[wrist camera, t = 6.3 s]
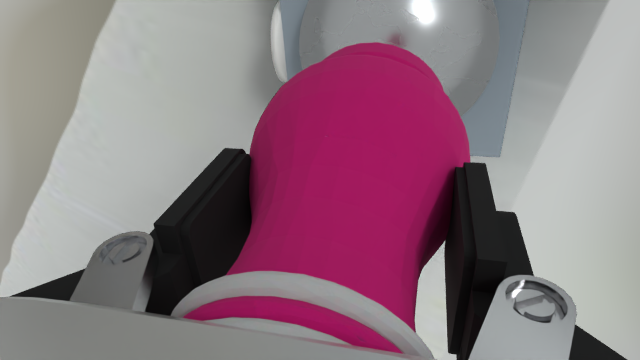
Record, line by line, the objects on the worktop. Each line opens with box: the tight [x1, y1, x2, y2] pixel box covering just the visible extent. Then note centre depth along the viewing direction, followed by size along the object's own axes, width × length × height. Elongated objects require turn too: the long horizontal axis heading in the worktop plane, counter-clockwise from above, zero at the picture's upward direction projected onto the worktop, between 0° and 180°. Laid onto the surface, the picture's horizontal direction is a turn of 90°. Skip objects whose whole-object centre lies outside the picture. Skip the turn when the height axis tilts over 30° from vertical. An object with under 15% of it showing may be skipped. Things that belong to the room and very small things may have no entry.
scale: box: [270, 0, 529, 157], centre depth 30 cm, size 17×16×6 cm
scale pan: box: [299, 0, 500, 117], centre depth 28 cm, size 13×13×1 cm
